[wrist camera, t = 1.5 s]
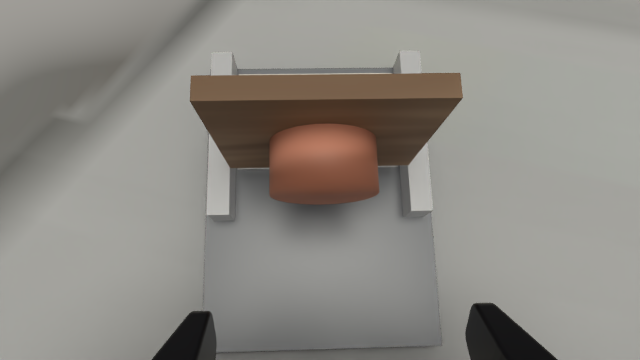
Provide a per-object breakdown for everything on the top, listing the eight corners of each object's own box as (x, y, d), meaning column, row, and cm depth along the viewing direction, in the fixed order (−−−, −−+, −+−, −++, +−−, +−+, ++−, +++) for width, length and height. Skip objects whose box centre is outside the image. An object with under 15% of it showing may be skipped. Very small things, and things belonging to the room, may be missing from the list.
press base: (435, 342, 23) (454, 350, 20) (206, 349, 22) (192, 358, 19) (414, 77, 26) (427, 50, 23) (214, 79, 26) (203, 52, 23)
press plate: (411, 208, 21) (469, 162, 13) (229, 212, 20) (187, 167, 13) (407, 148, 21) (460, 72, 14) (230, 151, 21) (191, 75, 14)
